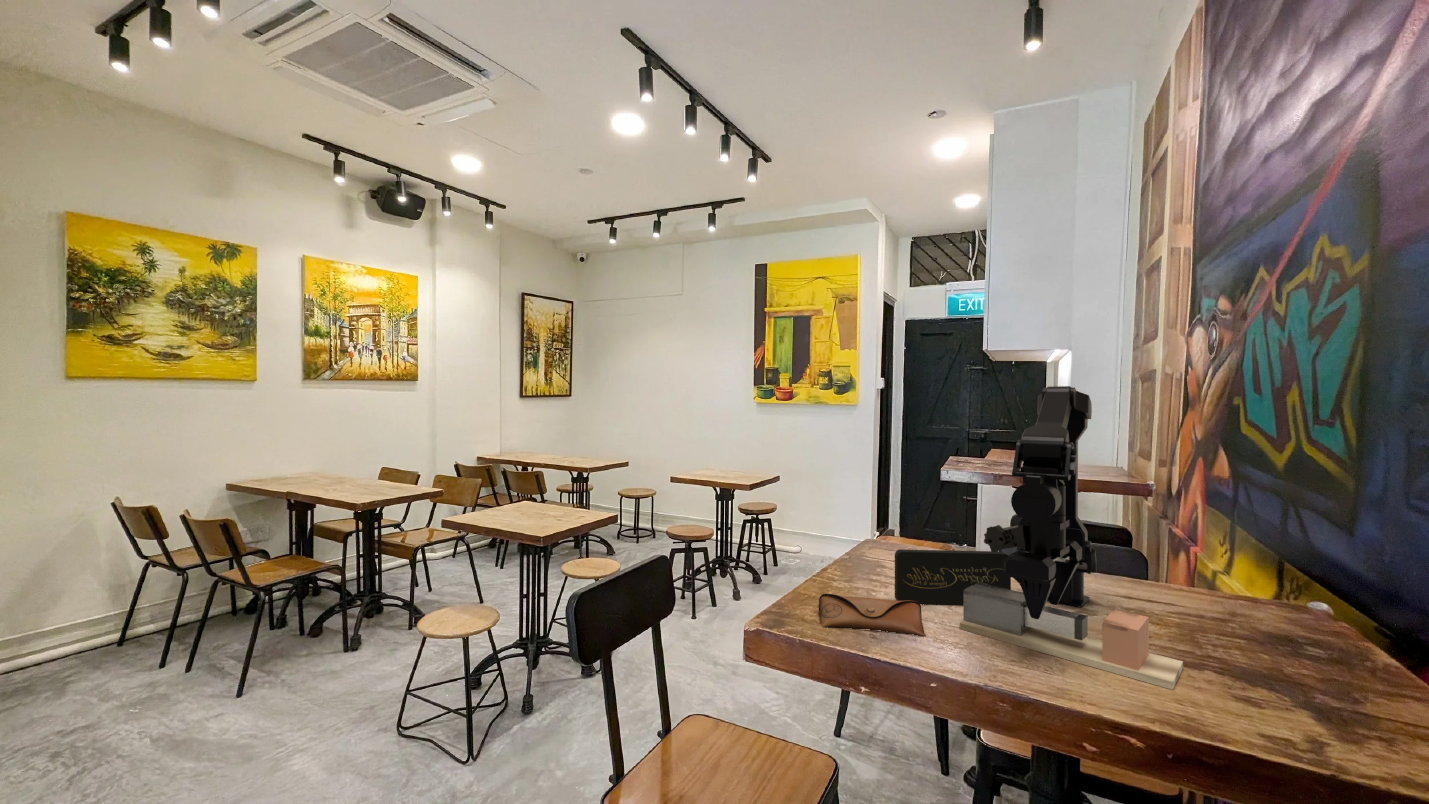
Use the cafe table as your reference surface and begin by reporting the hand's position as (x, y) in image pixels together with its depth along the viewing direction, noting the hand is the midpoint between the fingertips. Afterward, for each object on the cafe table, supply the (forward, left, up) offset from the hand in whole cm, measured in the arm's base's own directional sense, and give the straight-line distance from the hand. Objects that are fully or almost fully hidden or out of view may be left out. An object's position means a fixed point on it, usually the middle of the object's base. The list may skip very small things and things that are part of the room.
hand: (1044, 611), depth 90 cm
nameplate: (-7, -18, -5) cm, 20 cm away
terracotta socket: (0, +11, -4) cm, 11 cm away
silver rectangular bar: (0, -3, -3) cm, 4 cm away
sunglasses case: (+13, -23, -6) cm, 27 cm away
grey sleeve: (0, -7, -4) cm, 8 cm away
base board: (0, +3, -5) cm, 6 cm away
